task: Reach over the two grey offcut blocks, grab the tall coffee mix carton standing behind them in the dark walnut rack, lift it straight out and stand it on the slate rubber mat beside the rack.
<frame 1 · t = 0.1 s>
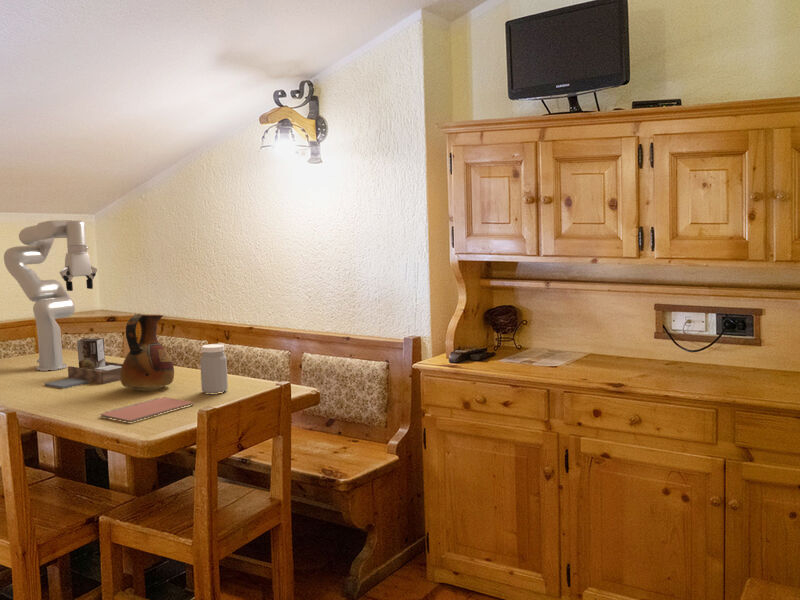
hand: (80, 289, 322), 37 cm above the table, tool pointing down, fingers open, 9 cm apart
jar: (215, 392, 288), on the table
grey offcut near: (106, 378, 316), resting in walnut rack
notebook: (147, 413, 261), on the table
walnut rack: (100, 377, 318), on the table
grey offcut far: (113, 379, 313), resting in walnut rack
slate mat: (67, 384, 305), on the table
coffee box: (93, 376, 320), on the table
ceramic pitcher: (148, 389, 295), on the table
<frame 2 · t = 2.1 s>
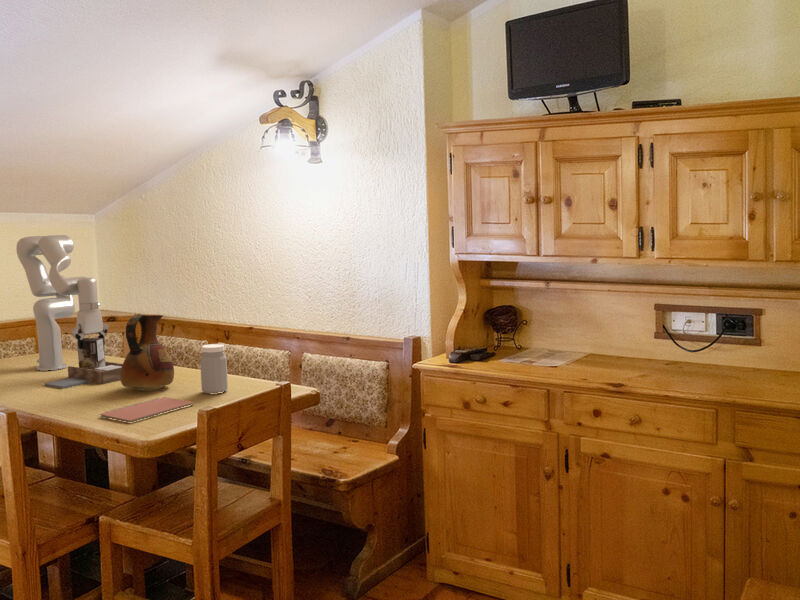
hand: (92, 347, 318), 13 cm above the table, tool pointing down, fingers open, 9 cm apart
coffee box: (93, 376, 320), on the table, touching gripper
everything else where it was.
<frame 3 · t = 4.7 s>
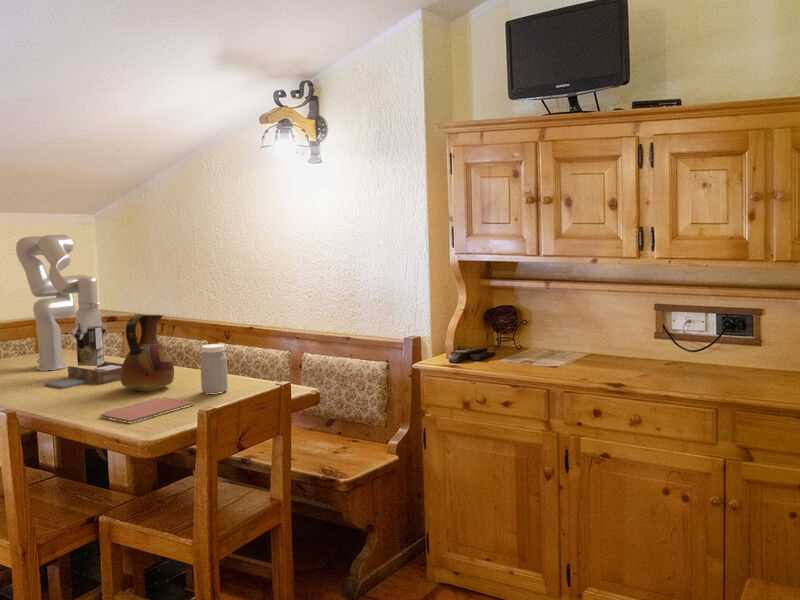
hand: (90, 346, 319), 13 cm above the table, tool pointing down, fingers closed on coffee box, 8 cm apart
coffee box: (91, 364, 320), point 5 cm above the table, touching gripper
everything else where it was.
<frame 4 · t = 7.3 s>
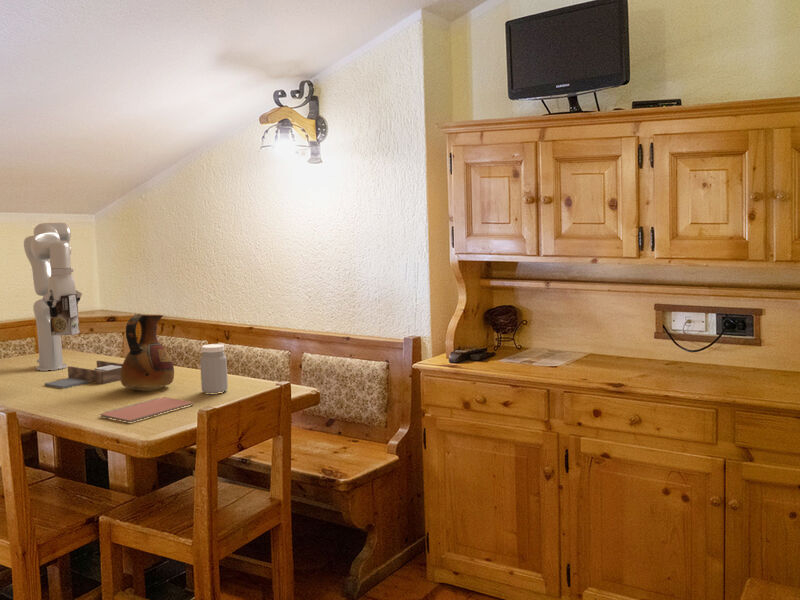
hand: (64, 315, 303), 28 cm above the table, tool pointing down, fingers closed on coffee box, 8 cm apart
coffee box: (65, 334, 304), point 20 cm above the table, touching gripper
everything else where it was.
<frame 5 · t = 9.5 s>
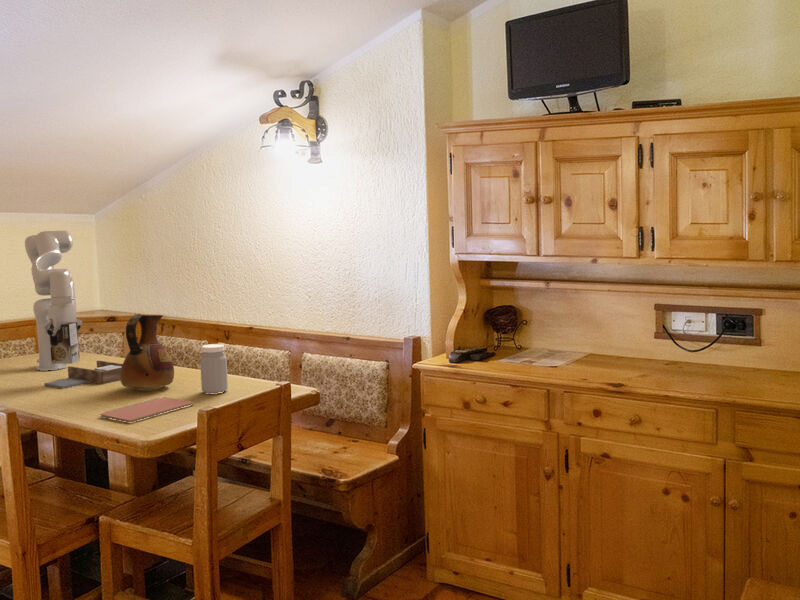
hand: (64, 343, 303), 17 cm above the table, tool pointing down, fingers closed on coffee box, 8 cm apart
coffee box: (65, 362, 304), point 9 cm above the table, touching gripper
everything else where it was.
when the fingers open (10 cm above the table, at t = 11.4 s): coffee box drops 2 cm, resting on slate mat.
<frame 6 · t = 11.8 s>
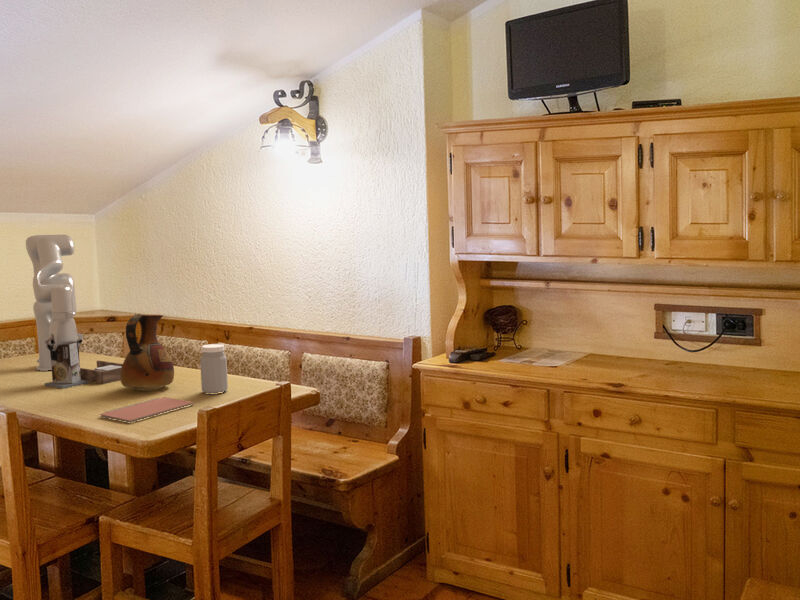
hand: (65, 358, 304), 11 cm above the table, tool pointing down, fingers open, 9 cm apart
coffee box: (66, 382, 306), point 1 cm above the table, touching slate mat
everything else where it was.
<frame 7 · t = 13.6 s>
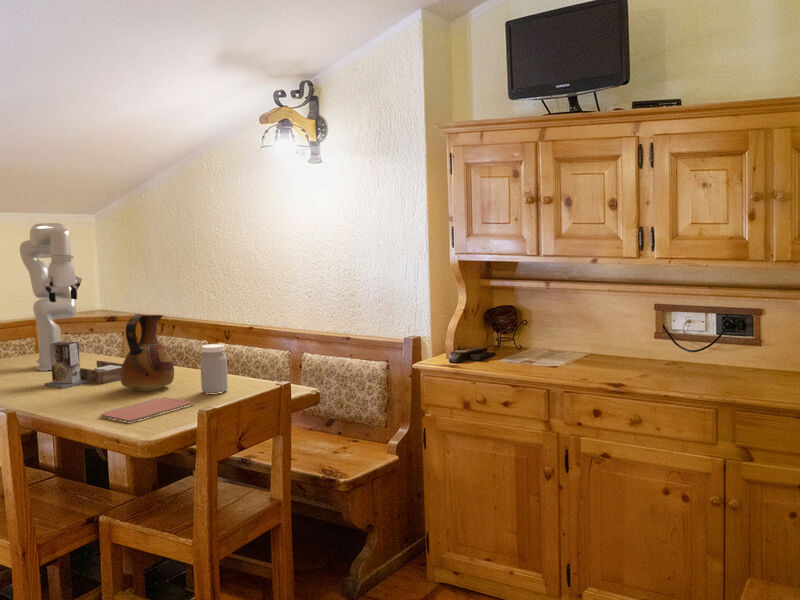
hand: (63, 300, 311), 33 cm above the table, tool pointing down, fingers open, 9 cm apart
nothing on the table moved.
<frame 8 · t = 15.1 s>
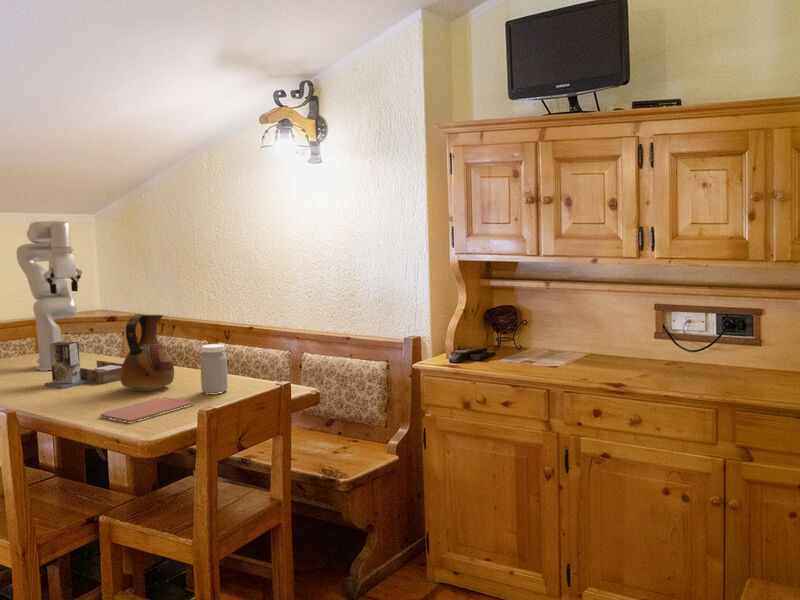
hand: (64, 292, 315), 36 cm above the table, tool pointing down, fingers open, 9 cm apart
nothing on the table moved.
at the end: coffee box inside the target area on the slate mat (0.3 cm from its centre), point 0.8 cm above the slate mat's base; coffee box tilted 0°; the gripper is holding nothing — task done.
